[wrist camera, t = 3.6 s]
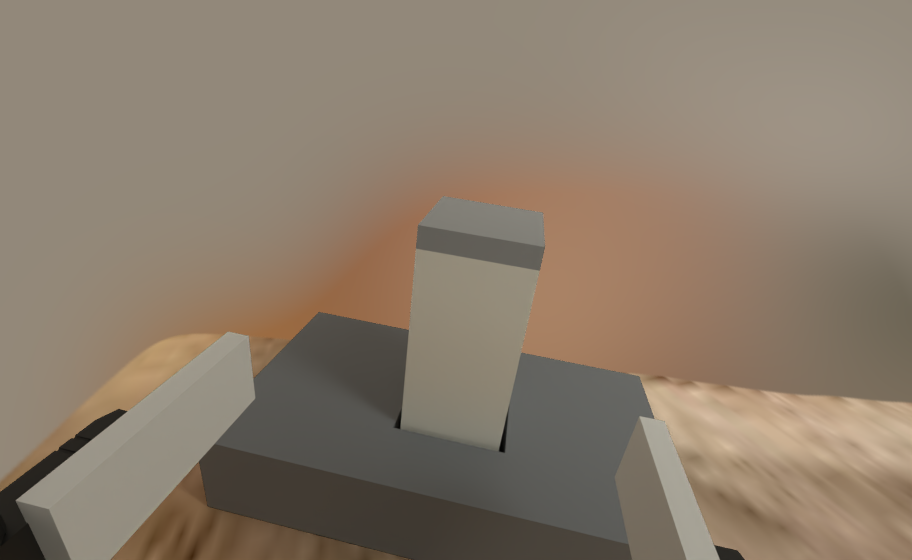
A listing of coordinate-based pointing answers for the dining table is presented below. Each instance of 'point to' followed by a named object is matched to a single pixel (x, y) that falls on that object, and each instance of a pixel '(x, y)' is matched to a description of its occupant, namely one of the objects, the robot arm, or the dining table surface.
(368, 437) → the plate with square hole
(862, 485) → the dining table surface
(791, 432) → the dining table surface
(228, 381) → the robot arm
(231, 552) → the dining table surface
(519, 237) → the plug
